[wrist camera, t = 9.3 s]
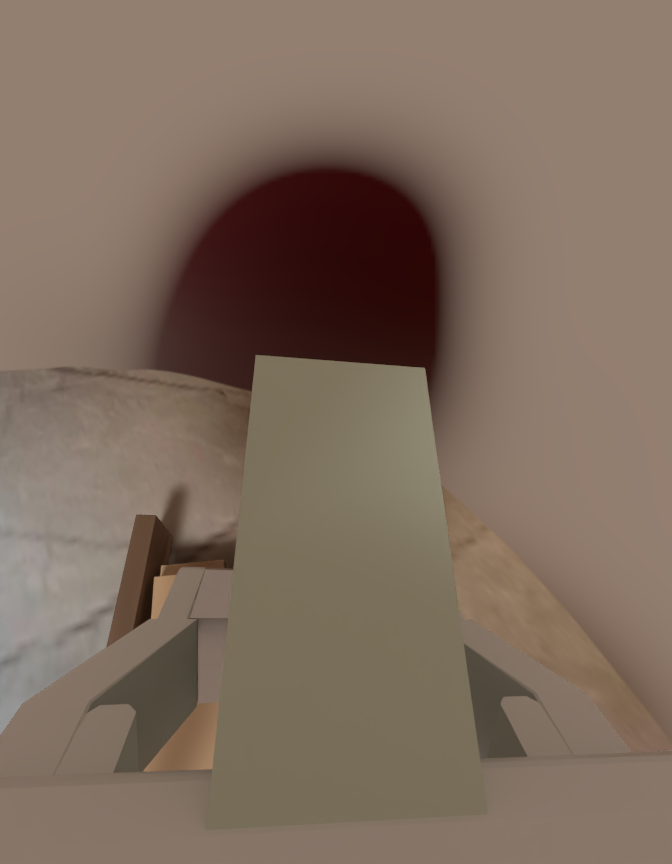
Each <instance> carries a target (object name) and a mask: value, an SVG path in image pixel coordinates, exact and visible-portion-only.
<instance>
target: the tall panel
mask: <svg viewBox="0 0 672 864" xmlns="http://www.w3.org/2000/svg"><path fill="white" fill-rule="evenodd" d="M483 814H488V812H487V805H486V798H485V791H484V784H483V777H482V770H481V762H480V755H479V748H478V741H477V734H476V727H475V720H474V713H473V706H472V699H471V692H470V685H469V677H468V670H467V663H466V656H465V649H464V642H463V635H462V628H461V621H460V614H459V607H458V600H457V593H456V585H455V578H454V571H453V564H452V557H451V550H450V543H449V536H448V529H447V522H446V515H445V508H444V500H443V493H442V486H441V479H440V472H439V466H438V459H437V451H436V444H435V437H434V430H433V423H432V415H431V408H430V401H429V394H428V387H427V380H426V373H425V368H418V367H405V366H392V365H379V364H366V363H352V362H341V361H328V360H315V359H302V358H289V357H275V356H263V355H256V357H255V367H254V377H253V386H252V396H251V405H250V415H249V424H248V434H247V443H246V453H245V462H244V472H243V482H242V491H241V501H240V510H239V520H238V529H237V539H236V548H235V558H234V567H233V577H232V587H231V596H230V606H229V615H228V625H227V634H226V644H225V653H224V663H223V673H222V682H221V692H220V701H219V711H218V720H217V730H216V739H215V749H214V758H213V768H212V778H211V787H210V797H209V806H208V816H207V825H206V830H216V829H234V828H252V827H269V826H287V825H305V824H323V823H341V822H358V821H376V820H394V819H412V818H430V817H447V816H465V815H483Z"/></svg>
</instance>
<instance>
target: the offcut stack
mask: <svg viewBox="0 0 672 864" xmlns="http://www.w3.org/2000/svg"><path fill="white" fill-rule="evenodd" d="M182 567H205V568H207V567H210V568H226V563H225V561H224V559H222V560H212V561H202V562H192V563H182V564H172V565H162V566H161V572H160V576H159V577H154V585H153V599H152V613H151V619H157V618H158V616H159V614H160V612H161V609H162V607H163V605H164V602H165V600H166V598H167V596H168V593H169V591H170V589H171V586H172V584H173V582H174V579H175V577H176V575H177V573H178V570H179V569H180V568H182ZM218 711H219V702H218V703H198V704H197V707H196V708H195V709H194V711H193V712H192V713H191V714H190V715H189V716H188V718H187V719H186V720H185V721H184V722H183V724H182V725H181V726H180V727H179V728H178V730H177V731H176V732H175V733H174V734H173V736H172V737H171V738H170V739H169V740H168V742H167V743H166V744H165V745H164V746H163V748H162V749H161V750H160V751H159V752H158V754H157V755H156V756H155V757H154V758H153V760H152V761H151V762H150V763H149V764H148V766H147V767H146V768H145V769H144V770H143V772H148V771H173V770H199V769H212V768H213V758H214V749H215V739H216V730H217V720H218Z"/></svg>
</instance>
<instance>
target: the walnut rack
mask: <svg viewBox="0 0 672 864" xmlns="http://www.w3.org/2000/svg"><path fill="white" fill-rule="evenodd" d="M171 542H172V535H171V534H170V533H169V531H168V530H167V529H166V528H165V526H164V525H163V524H162V522H161V521H160V520H159V519H158V517H157V516H156V515H136V518H135V523H134V527H133V532H132V536H131V540H130V545H129V549H128V554H127V558H126V563H125V567H124V572H123V576H122V581H121V585H120V590H119V594H118V599H117V603H116V607H115V612H114V616H113V621H112V625H111V630H110V634H109V639H108V643H107V647H108V646H110V645H111V644H113V643H114V642H116V641H117V640H119V639H120V638H122V637H123V636H125V635H126V634H128V633H129V632H131V631H132V630H134V629H135V628H137V627H138V626H140V625H141V624H143V623H144V622H146V621H147V620H149V619H151V613H152V599H153V585H154V577H159V576H160V572H161V566H162V565H167V564H168V558H169V553H170V547H171Z"/></svg>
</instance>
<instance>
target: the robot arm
mask: <svg viewBox="0 0 672 864" xmlns="http://www.w3.org/2000/svg"><path fill="white" fill-rule="evenodd" d="M232 577H233V568H210V567H207V568H205V567H182V568H180V569H179V570H178V573H177V575H176V577H175V579H174V582H173V584H172V586H171V589H170V591H169V593H168V596H167V598H166V600H165V602H164V605H163V607H162V609H161V612H160V614H159V616H158V618H157V619H149V620H147V621H146V622H144V623H143V624H141V625H140V626H138V627H137V628H135V629H134V630H132V631H131V632H129V633H128V634H126V635H125V636H123V637H122V638H120V639H119V640H117V641H116V642H114V643H113V644H111V645H110V646H108V647H107V648H105V649H104V650H102V651H101V652H99V653H98V654H96V655H95V656H93V657H92V658H90V659H89V660H87V661H86V662H84V663H83V664H81V665H80V666H78V667H77V668H75V669H74V670H72V671H71V672H69V673H68V674H66V675H65V676H63V677H62V678H60V679H59V680H57V681H56V682H54V683H53V684H51V685H50V686H48V687H47V688H45V689H44V690H42V691H41V692H39V693H38V694H36V695H35V696H33V697H32V698H30V699H29V700H27V701H26V702H24V703H23V704H22V705H21V706H20V708H19V709H18V711H17V712H16V714H15V715H14V717H13V718H12V719H11V721H10V722H9V724H8V725H7V727H6V728H5V730H4V731H3V733H2V734H1V735H0V864H672V751H654V752H631V750H630V749H629V748H628V746H627V745H626V744H625V743H624V741H623V740H622V739H621V737H620V736H619V735H618V734H617V732H616V731H615V730H614V728H613V727H612V726H611V724H610V723H609V722H608V721H607V719H606V718H605V717H604V715H603V714H602V713H601V712H600V710H599V709H598V708H597V706H596V705H595V704H594V702H593V701H592V700H591V699H590V697H589V696H588V695H587V693H585V692H584V691H582V690H580V689H579V688H577V687H576V686H574V685H573V684H571V683H569V682H568V681H566V680H565V679H563V678H562V677H560V676H559V675H557V674H555V673H554V672H552V671H551V670H549V669H548V668H546V667H545V666H543V665H541V664H540V663H538V662H537V661H535V660H534V659H532V658H530V657H529V656H527V655H526V654H524V653H523V652H521V651H520V650H518V649H516V648H515V647H513V646H512V645H510V644H509V643H507V642H506V641H504V640H502V639H501V638H499V637H498V636H496V635H495V634H493V633H491V632H490V631H488V630H487V629H485V628H484V627H482V626H481V625H479V624H477V623H476V622H474V621H473V620H465V619H464V617H463V616H462V614H461V612H460V610H459V614H460V621H461V628H462V635H463V642H464V649H465V656H466V663H467V670H468V677H469V685H470V692H471V699H472V706H473V713H474V720H475V727H476V734H477V741H478V748H479V755H480V762H481V770H482V777H483V784H484V791H485V798H486V805H487V812H488V814H483V815H465V816H447V817H430V818H412V819H394V820H376V821H358V822H341V823H323V824H305V825H287V826H269V827H252V828H234V829H216V830H206V825H207V816H208V806H209V797H210V787H211V778H212V769H199V770H173V771H148V772H143V770H144V769H145V768H146V767H147V766H148V764H149V763H150V762H151V761H152V760H153V758H154V757H155V756H156V755H157V754H158V752H159V751H160V750H161V749H162V748H163V746H164V745H165V744H166V743H167V742H168V740H169V739H170V738H171V737H172V736H173V734H174V733H175V732H176V731H177V730H178V728H179V727H180V726H181V725H182V724H183V722H184V721H185V720H186V719H187V718H188V716H189V715H190V714H191V713H192V712H193V711H194V709H195V708H196V707H197V704H198V703H218V702H219V701H220V692H221V682H222V673H223V663H224V653H225V644H226V634H227V625H228V615H229V606H230V596H231V587H232Z"/></svg>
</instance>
